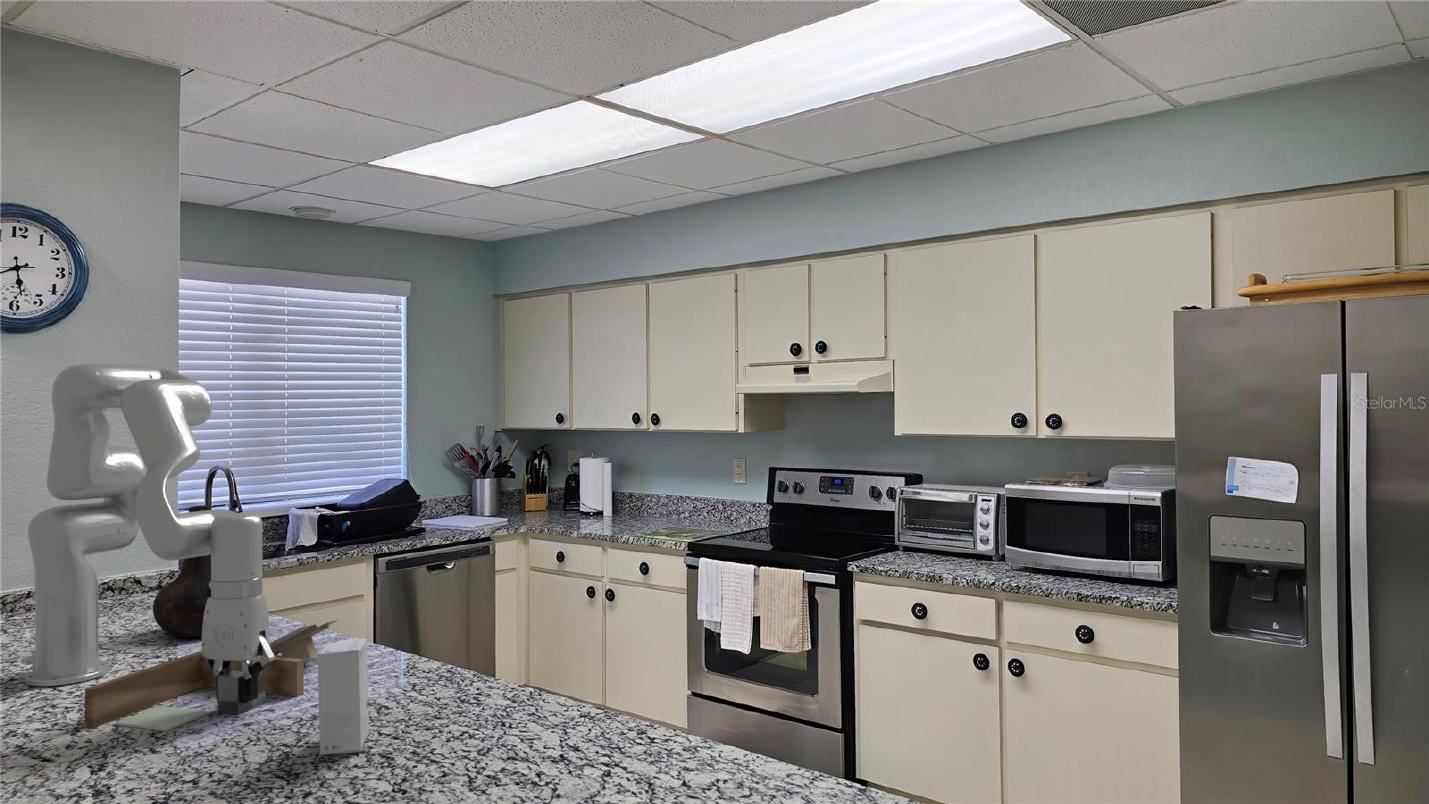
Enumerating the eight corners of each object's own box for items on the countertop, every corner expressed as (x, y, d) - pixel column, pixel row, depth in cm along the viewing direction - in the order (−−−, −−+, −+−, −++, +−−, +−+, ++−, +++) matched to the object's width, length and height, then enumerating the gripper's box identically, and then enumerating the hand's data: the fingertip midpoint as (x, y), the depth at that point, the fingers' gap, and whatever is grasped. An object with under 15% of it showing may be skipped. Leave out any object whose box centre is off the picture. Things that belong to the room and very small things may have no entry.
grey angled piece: (250, 703, 165) (314, 648, 166) (223, 666, 166) (287, 611, 167) (297, 689, 181) (355, 639, 182) (272, 655, 182) (330, 605, 183)
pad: (115, 724, 143) (115, 722, 143) (159, 708, 150) (159, 705, 150) (166, 731, 140) (166, 728, 140) (207, 713, 148) (207, 711, 148)
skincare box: (361, 753, 131) (361, 650, 131) (316, 756, 130) (316, 653, 130) (369, 732, 140) (369, 636, 140) (327, 735, 138) (327, 638, 138)
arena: (84, 726, 142) (84, 688, 142) (203, 683, 164) (203, 650, 164) (196, 741, 136) (196, 701, 136) (303, 693, 158) (303, 659, 158)
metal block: (217, 712, 148) (217, 675, 148) (245, 700, 154) (246, 665, 154) (237, 714, 147) (237, 677, 147) (265, 703, 153) (265, 667, 153)
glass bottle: (180, 648, 187) (179, 512, 186) (135, 636, 196) (135, 507, 196) (262, 630, 202) (262, 504, 202) (217, 619, 211) (217, 499, 211)
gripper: (177, 590, 148) (177, 702, 148) (261, 596, 144) (262, 711, 144) (214, 581, 156) (214, 688, 156) (295, 587, 151) (295, 696, 151)
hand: (237, 698), depth 150 cm, fingers closed on metal block, 4 cm apart
